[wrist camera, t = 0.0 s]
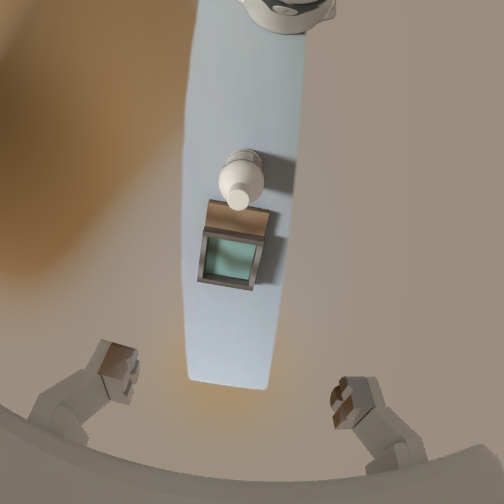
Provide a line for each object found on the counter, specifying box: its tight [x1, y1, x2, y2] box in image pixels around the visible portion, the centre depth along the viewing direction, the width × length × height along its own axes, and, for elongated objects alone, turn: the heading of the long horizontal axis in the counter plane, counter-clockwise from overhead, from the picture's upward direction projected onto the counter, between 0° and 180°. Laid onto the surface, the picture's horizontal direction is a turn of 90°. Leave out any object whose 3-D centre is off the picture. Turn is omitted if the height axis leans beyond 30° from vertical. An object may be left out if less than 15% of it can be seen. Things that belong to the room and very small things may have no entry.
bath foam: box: [219, 149, 264, 211], centre depth 45 cm, size 7×7×20 cm
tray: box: [197, 200, 269, 291], centre depth 60 cm, size 18×12×4 cm, turn 169°
